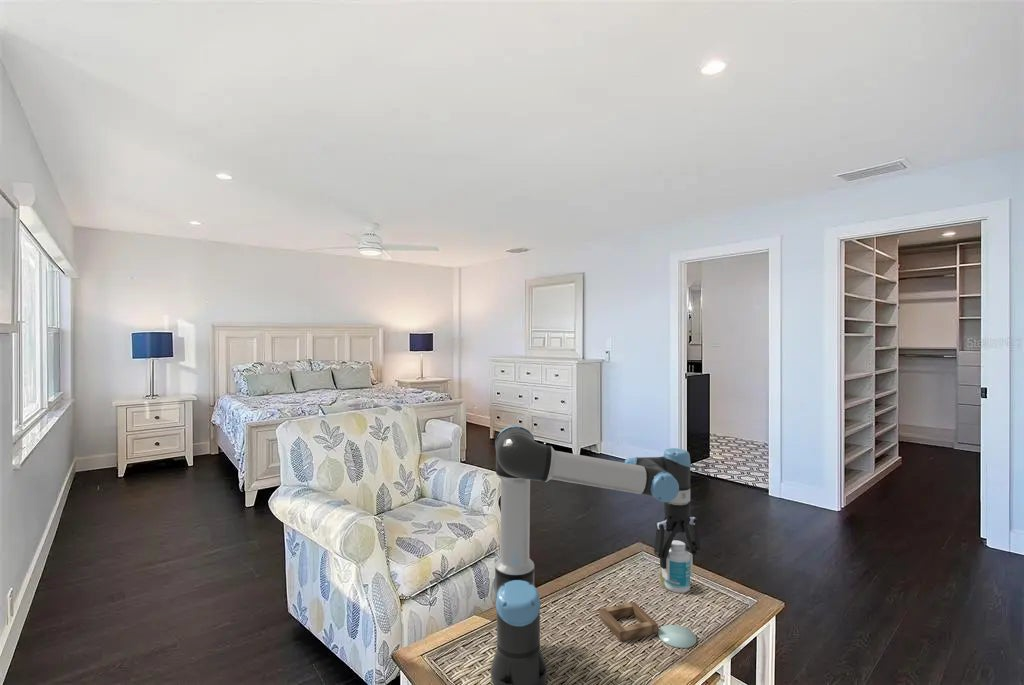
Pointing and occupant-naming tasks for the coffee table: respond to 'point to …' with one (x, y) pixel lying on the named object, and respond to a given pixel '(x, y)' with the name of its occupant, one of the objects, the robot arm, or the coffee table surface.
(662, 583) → the decorative object
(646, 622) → the walnut frame
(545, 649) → the coffee table surface
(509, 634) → the robot arm
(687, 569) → the pill bottle
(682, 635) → the coaster
